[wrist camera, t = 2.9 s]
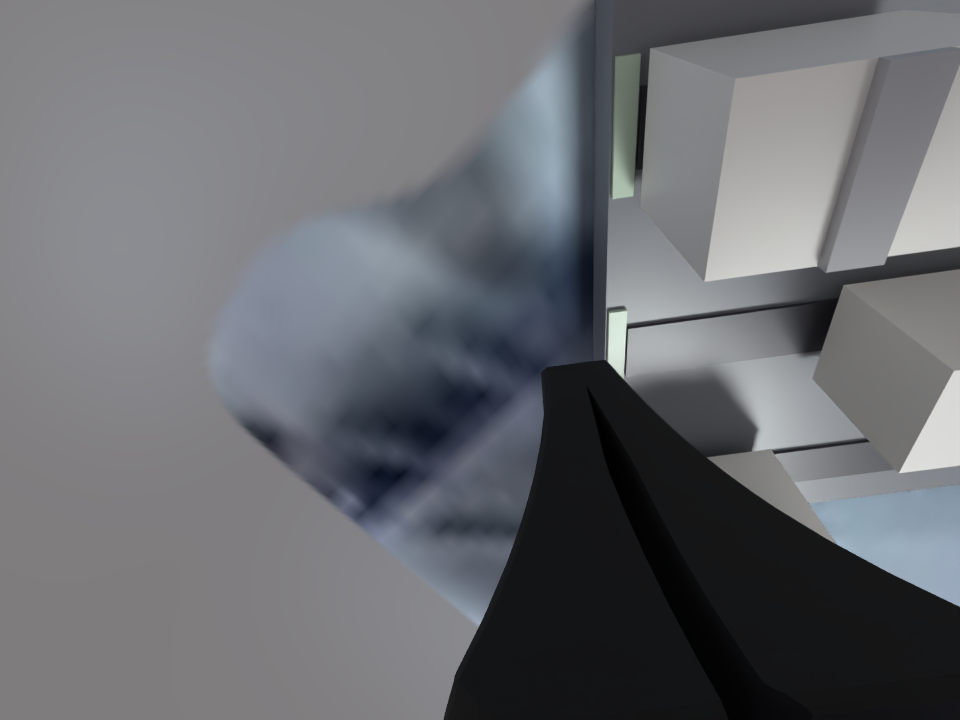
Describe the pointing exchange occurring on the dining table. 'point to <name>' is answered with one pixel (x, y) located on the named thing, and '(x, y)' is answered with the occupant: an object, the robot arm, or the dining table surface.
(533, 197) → the dining table surface
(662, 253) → the panel
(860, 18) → the block
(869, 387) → the block
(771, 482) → the block
